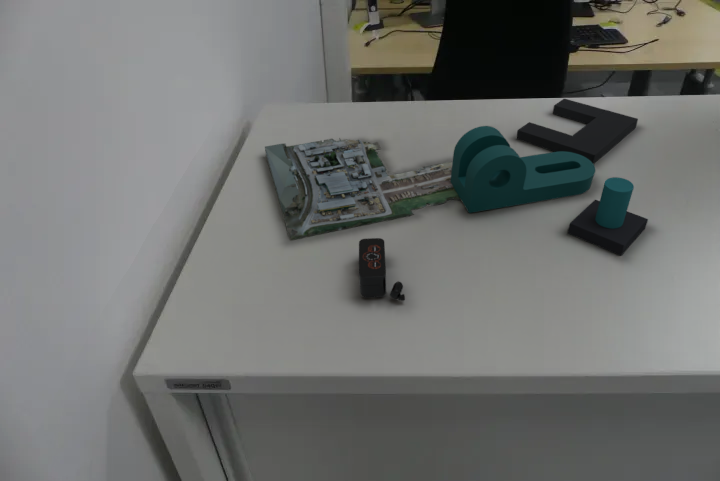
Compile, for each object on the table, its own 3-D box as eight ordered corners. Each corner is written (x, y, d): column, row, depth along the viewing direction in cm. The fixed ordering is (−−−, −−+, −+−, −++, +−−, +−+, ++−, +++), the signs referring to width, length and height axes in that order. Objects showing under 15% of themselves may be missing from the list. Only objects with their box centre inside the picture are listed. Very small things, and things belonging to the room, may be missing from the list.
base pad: (562, 106, 92) (564, 98, 91) (635, 127, 85) (638, 118, 84) (516, 138, 84) (517, 129, 83) (592, 164, 77) (594, 155, 76)
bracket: (469, 213, 69) (476, 159, 64) (450, 181, 74) (456, 129, 69) (600, 190, 72) (618, 138, 67) (574, 162, 77) (589, 110, 72)
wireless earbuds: (360, 305, 58) (358, 282, 56) (360, 261, 64) (359, 238, 62) (405, 304, 58) (404, 281, 56) (401, 259, 63) (401, 237, 61)
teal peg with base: (592, 209, 69) (604, 163, 65) (645, 229, 66) (660, 182, 62) (567, 233, 66) (577, 186, 62) (621, 256, 62) (635, 207, 58)
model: (518, 193, 73) (519, 182, 72) (290, 240, 67) (288, 229, 66) (453, 123, 89) (454, 113, 88) (266, 156, 84) (264, 146, 83)
